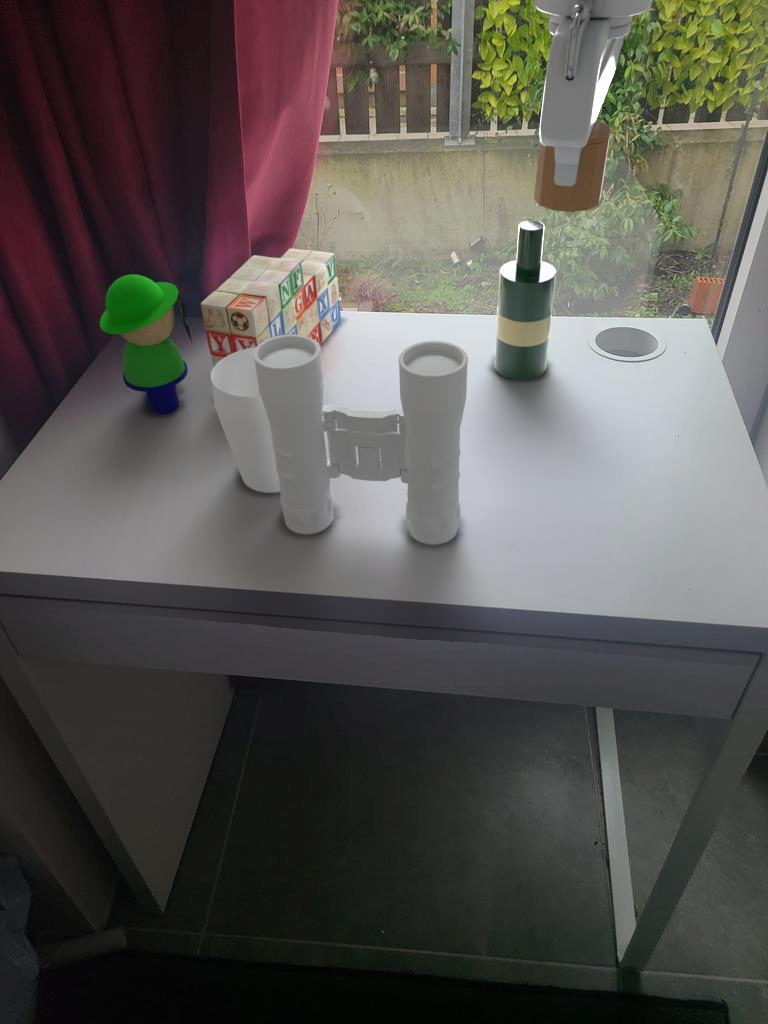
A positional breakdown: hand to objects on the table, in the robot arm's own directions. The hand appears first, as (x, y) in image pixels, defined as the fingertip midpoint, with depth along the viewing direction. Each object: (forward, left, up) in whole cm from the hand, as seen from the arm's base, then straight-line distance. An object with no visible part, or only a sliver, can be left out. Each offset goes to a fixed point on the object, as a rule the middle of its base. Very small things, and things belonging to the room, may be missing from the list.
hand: (571, 168), depth 71 cm
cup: (+24, +17, -26) cm, 39 cm away
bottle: (+4, -9, -26) cm, 28 cm away
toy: (+42, +8, -26) cm, 50 cm away
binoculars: (+13, +21, -26) cm, 36 cm away
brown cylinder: (0, 0, -3) cm, 3 cm away
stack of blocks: (+32, -4, -26) cm, 42 cm away
